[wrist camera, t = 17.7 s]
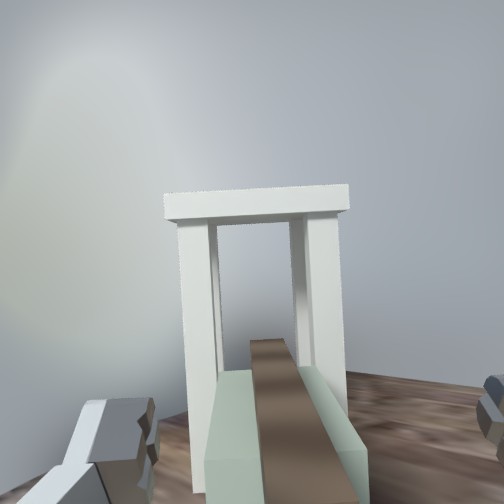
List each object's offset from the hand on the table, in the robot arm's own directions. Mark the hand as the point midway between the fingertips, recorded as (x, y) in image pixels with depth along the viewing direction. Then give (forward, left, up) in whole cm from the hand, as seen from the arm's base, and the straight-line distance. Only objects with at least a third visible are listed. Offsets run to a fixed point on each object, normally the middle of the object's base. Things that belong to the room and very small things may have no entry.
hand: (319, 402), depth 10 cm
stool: (-20, -34, -21) cm, 45 cm away
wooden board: (-8, -13, -8) cm, 17 cm away
